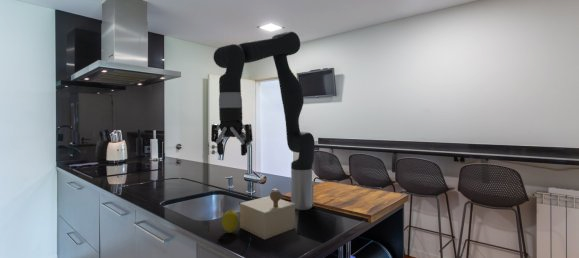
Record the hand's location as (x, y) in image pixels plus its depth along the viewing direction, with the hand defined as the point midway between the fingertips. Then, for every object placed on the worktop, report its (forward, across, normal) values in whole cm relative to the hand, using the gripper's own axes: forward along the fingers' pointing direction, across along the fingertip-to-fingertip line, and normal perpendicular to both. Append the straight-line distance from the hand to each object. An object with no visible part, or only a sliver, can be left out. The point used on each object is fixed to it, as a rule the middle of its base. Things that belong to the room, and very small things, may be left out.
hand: (232, 154), depth 97 cm
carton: (+28, -9, -8) cm, 30 cm away
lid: (+20, -9, -9) cm, 23 cm away
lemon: (+28, +2, 0) cm, 28 cm away
